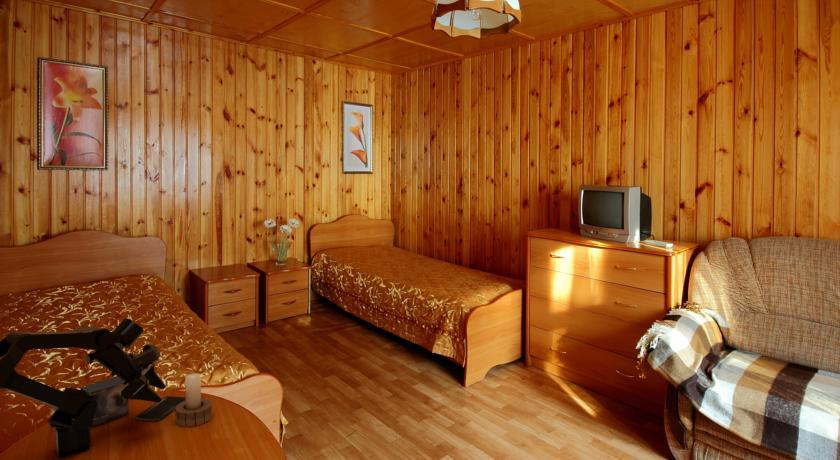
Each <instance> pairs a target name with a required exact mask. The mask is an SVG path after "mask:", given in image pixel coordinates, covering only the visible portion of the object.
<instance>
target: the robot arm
mask: <svg viewBox="0 0 840 460" xmlns="http://www.w3.org/2000/svg"><path fill="white" fill-rule="evenodd" d="M143 334H144V328H143V327H142V326H141V325H139V324H138V323H137V322H134V321H133V320H132V319H131V318H127V317H124V318H123V319H122V320H121V321H120V323H119V324H118V325H117V326H116V327H115V328H114V329H113V330H112V331H111V330H110V329H108V328H104V327H96V326H91V325H89V326H88V325H87V326H81V327H77V328H75V329H72V330H69V331H41V332H40V331H36V332H34V331H33V332H21V331H13V332H11V333H9V334H7V335H6V336H4V337H3V338H2V339H0V389H2V390H6V391H9V392H11V393H15V394H17V395H20V396H23V397H26V398H27V399H31V400H33V401H37V402H39V403H42V404H45V405H48V406H50V407H51V409H52V410H53V411H54V412H53V413H52V415H51V416H50V418H49V419H48V421H47V423H48V425H49V426H50V428H53V429H55V442H56V443H55V445H56V446H55V447H54V449H55V452H56V455H57V458H58V459H62V458H63V459H64V458H66V457H69V456H72V455H77V454H79V453H83V452H87V451H89V450H90V448H91V447H90V445H91V429H90V427H89V426H91V425H92V423H93V419H94V415H95V412H96V409H97V400H96V399H95V398H92V397H94V395H93V394H88V393H86V392H84V391H83V390H80V388H79V389H77V388H74V387H69V386H65V387H64V390H63V391H62V390H60V389H57V388H55V387H53V386H50V385H48V384H45V383H43V382H40V381H37V380H36V379H32V378H30V377H28V376H25V375H23V374H20V373H19V372H18V371H17V370H16V369H15V368H16V367H17V366H18V365H19V363H20V362H21V360H22V359H23V357H24V355H25V354H26V353H27V352H28V351H33V350H34V351H35V350H49V349H65V348H78V349H83V350H84V349H85V350H90V351H91V350H92V352H88V353H86V354H85V356H84V357H85V365H86V366H89V365H91V364H92V363H93V362H94V361H96V362H97V363H98V364H100V365H101V366H103V367H104V368H105V369H106V370H108V371H110V373H109V375H110V376H111V377H116V376H118V377H119V378H121V379H122V380H123V381H124V382H123V384H124V385H125V386H124V387H123V389H122V391H121V397H123V398H124V399H125V400H130V401H132V400H135V401H137V400H138V401H146V402H152V403H159V402H161V401H162V397H161V396H160V395H159V394H158V393H157V392H156V391H155V390H154V389H153V388H152V387H154V388H157V389H160V390H164V389H166V387H167V386H166V384H165V383H164V381H163V380H162V379H161V377H160V376H159V374H158V373H157V371H156V362H157V361H158V360H159V359H160V356H161V353H160V351H159V350H158V347H157V346H155V344H151V343H147V344H144V345H143V347H142V351H140V352H139V353H137V354H135V353H133V352H129V353H127V352H126V351H124V350H123V349H130V348H131V347H132V345H133V344H134V343H135V342H136V341H137V340H138V339H139V338H140V337H141V335H143Z"/></svg>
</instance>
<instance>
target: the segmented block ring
mask: <svg viewBox="0 0 840 460" xmlns="http://www.w3.org/2000/svg"><path fill="white" fill-rule="evenodd" d="M212 404H213V403H212V401H211V400H210V399H208V398H202V397H201V408H198V409H195V410H186V401H184V402H182V403H180V404H178V405H177V406H176V408H175V411H174V412H175V424H176V425H177V426H179V427H184V428H185V427H186V428H189V427H195V426H196V427H197V426H200V425H203V424H204V423H205V424H206V423H207V422H209V421H211V420H212V416H213V405H212Z"/></svg>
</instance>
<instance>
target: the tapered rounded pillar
mask: <svg viewBox="0 0 840 460" xmlns="http://www.w3.org/2000/svg"><path fill="white" fill-rule="evenodd" d="M201 376H202V375H201V373H196V372H194V373H190V374H186V376H185V378H184V379H185V397H186V410H195V409H198V408H201V399H202V391H201V390H202V388H201V387H202V385H201V381H202V380H201V378H202V377H201Z"/></svg>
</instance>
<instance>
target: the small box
mask: <svg viewBox="0 0 840 460" xmlns="http://www.w3.org/2000/svg"><path fill="white" fill-rule="evenodd" d="M123 382H124V381H123V380H122V379H121V378H119V377H118V376H116V375H115V376H112V377H110V378H107V379H103V380H99V381H97V382H92V383H89V384H86V385H83V386H80V387H79V390H83V391H84V392H86V393H88V394H93V395H94V397H92V398H95V399H96V400H97V409H96V412H95V415H94V419H93V423H92V425H91V426H89V428H94V427H97V426H99V425H102V424H104V423H107V422H110V421H112V420H115V419H118V418H122V417H124V416H127V415H129V414H130V412H129V411H130V409H129V405H130V404H129V400H130V399H128V400H125V399H124V398H123V397H121V391H122V389H123V387H124V386H125V385H124V384H123Z"/></svg>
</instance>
